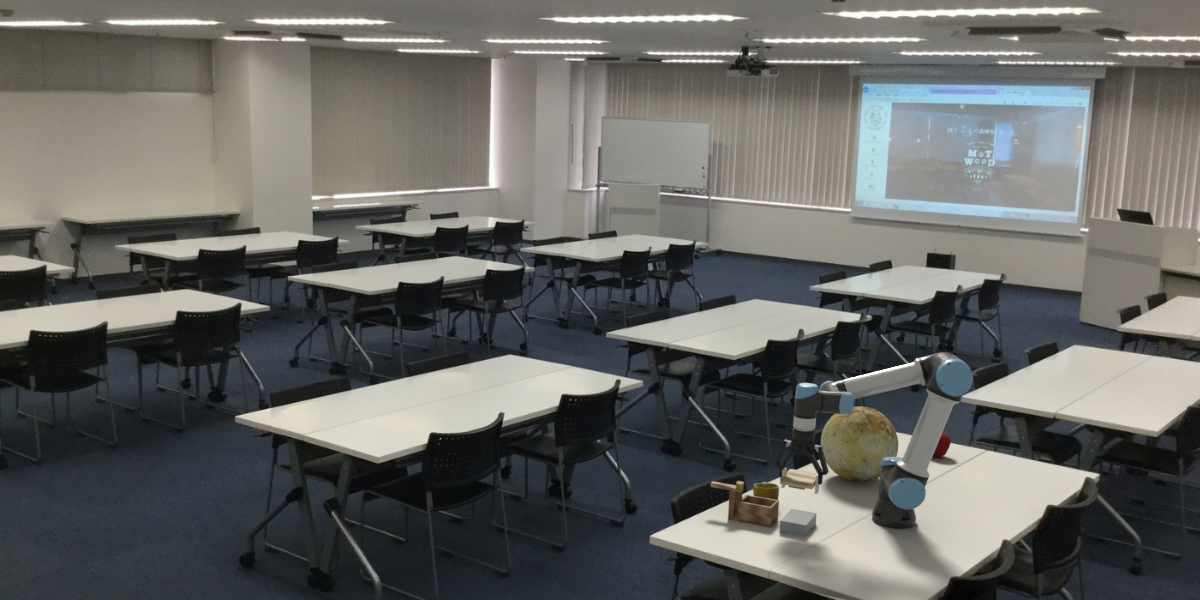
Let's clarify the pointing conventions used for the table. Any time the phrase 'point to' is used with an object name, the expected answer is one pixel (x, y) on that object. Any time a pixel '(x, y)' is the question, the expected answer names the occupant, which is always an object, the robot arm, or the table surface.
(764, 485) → the mug
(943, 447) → the apple
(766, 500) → the toolbox
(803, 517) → the block
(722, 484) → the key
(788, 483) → the lid
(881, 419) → the speckled ball
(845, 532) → the table surface
